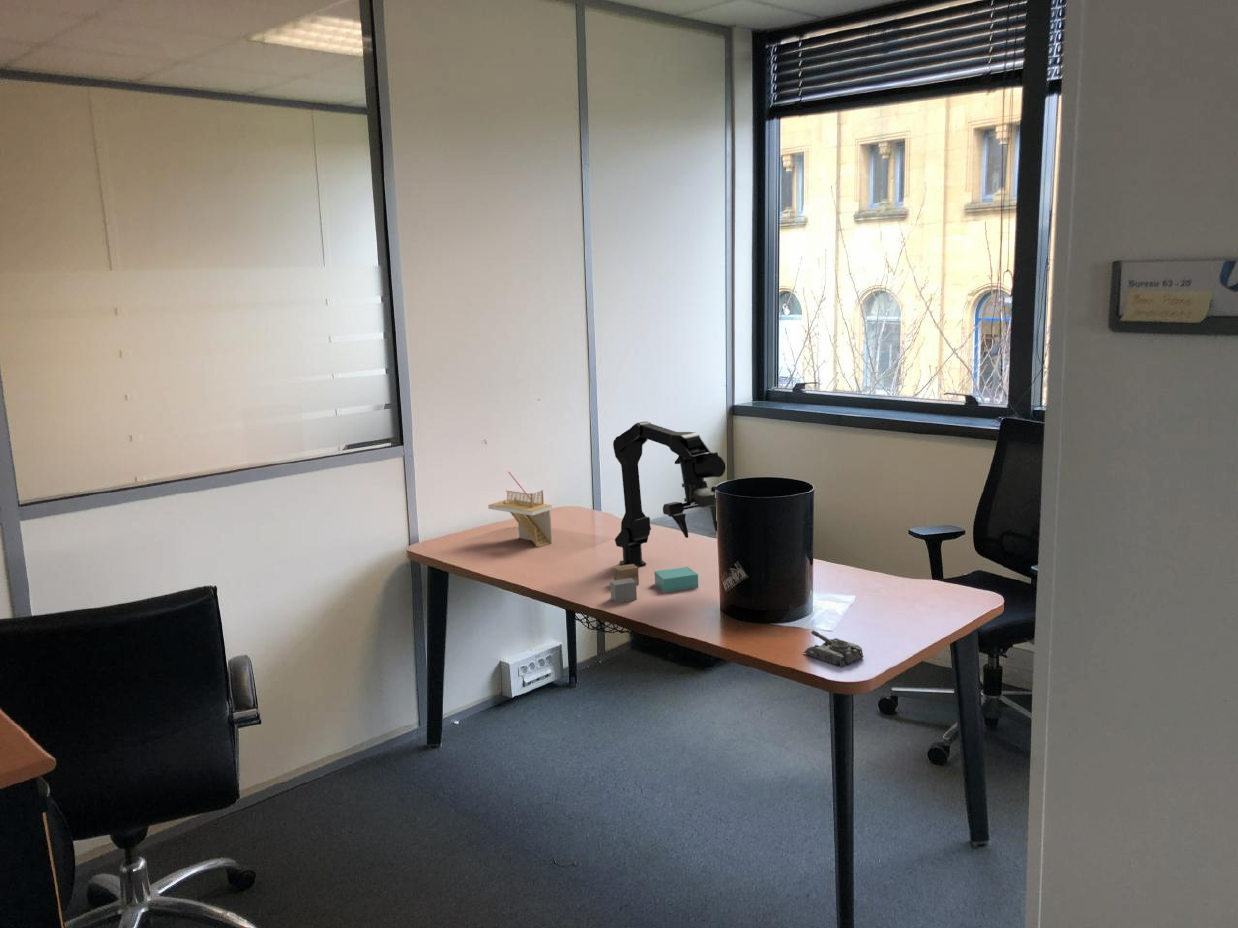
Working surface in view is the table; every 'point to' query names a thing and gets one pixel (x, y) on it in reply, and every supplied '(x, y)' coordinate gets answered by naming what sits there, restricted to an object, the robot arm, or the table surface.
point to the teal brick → (676, 579)
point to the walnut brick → (626, 572)
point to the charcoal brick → (623, 590)
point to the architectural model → (529, 516)
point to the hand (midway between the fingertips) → (702, 534)
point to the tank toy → (835, 651)
